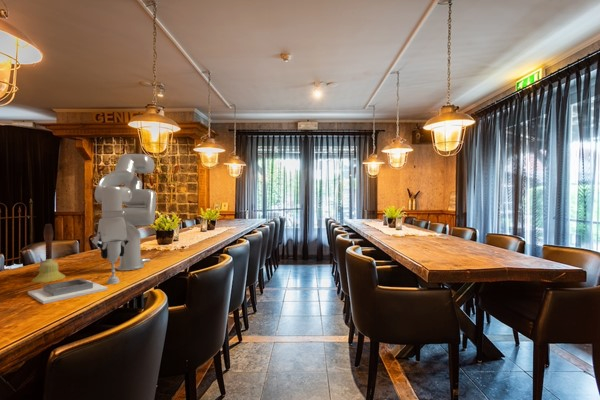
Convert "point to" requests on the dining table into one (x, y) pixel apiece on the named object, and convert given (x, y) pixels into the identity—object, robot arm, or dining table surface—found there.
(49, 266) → the handbell
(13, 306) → the dining table surface
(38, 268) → the lily
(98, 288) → the board
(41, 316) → the dining table surface
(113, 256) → the chalice
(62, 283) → the collar
